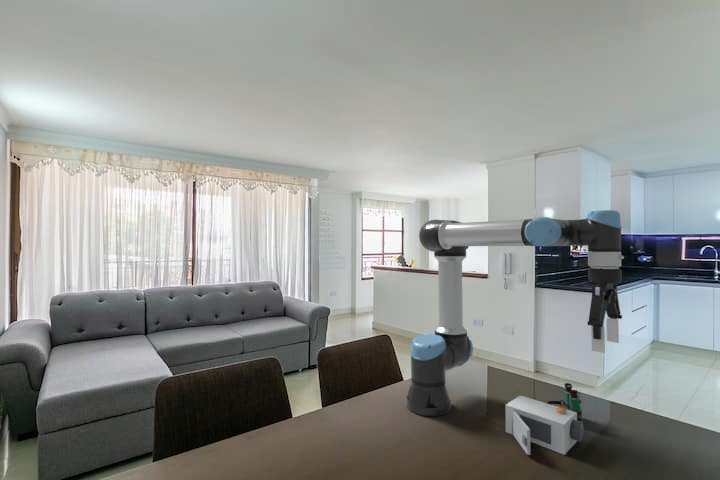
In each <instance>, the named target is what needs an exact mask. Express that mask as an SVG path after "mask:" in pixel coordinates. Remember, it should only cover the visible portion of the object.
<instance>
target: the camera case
mask: <svg viewBox="0 0 720 480" xmlns="http://www.w3.org/2000/svg"><path fill="white" fill-rule="evenodd" d="M512 411H516V413H517V414H518V416H519V417H520V418H521V419H522V420H523V422H524V423H525V424H526V425H527V426H528V428H529V429H530V443H533V444H536V445H539V446H541V447H544V448H545V449H548V450H550V451H554V452H556V453H558V454H561V455H564V456H565V455H567V453H568V452H569V450H571V449H572V448H573V446H575V444H576V443H577V442H579V443H581V442H582V440H583V438H584V433H585V426H584V423H582V422H580V421H577V412H574V411H570V410H567V409H566V408H565V407H561V406H557V405H555V404H547V402H543V401H540V400H537V399H533V398H531V397H527V396H525V395H524V396H523V395H522V394H521V395H519V396H517V397H515V398H514V399H512V400H511V401H508V403H506V404H505V433H507V434H510V435H512Z"/></svg>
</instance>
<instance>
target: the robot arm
mask: <svg viewBox="0 0 720 480" xmlns="http://www.w3.org/2000/svg"><path fill="white" fill-rule="evenodd" d="M418 237H419V243H420V245H422V247H423V248H424V249H426V250H428V251H429V252H432V253H433V257H434V259H436V260H437V264H438V265H437V266H438V267H437V268H438V270H437V271H438V273H437V274H438V278H437V279H438V325H437V326H436V327H435V328H434V334H426V335H425V334H423V335H419V336H416V337H415V338H413V339H412V341H411V346H410V347H411V348H410V369H411V370H410V377H411V379H410V380H411V382H410V386H409V388H408V392H407V396H406V400H405V401H406V408H407V409H408V410H410V412H412V413H414V414H417V415H420V416H425V417H440V416H445V415H446V414H448V413H449V412H451V410H452V402H451V398H450V396H449V392H448V389H447V388H448V387H447V385H446V380H447V379H446V378H447V377H446V372H447V371H450V370H453V369H454V368H457V367H461V366H463V365H464V364H465V363H468V361H470V359H471V358H472V356H473V352H474V345H473V342H472V340H471V339H470V337H469V335H468V331H467V329H466V328H465V327H464V326H463V261H464V260H465V259H466V257H467V250H468V249H469V248H470V247H572V246H575V247H576V246H577V247H579V246H582V247H587V266H588V270H587V271H588V273H587V274H588V275H587V276H588V279H587V280H588V282H590V283H596V286H592V287H591V300H590V308H589V315H588V321H587V326H591V327H590V328H591V351H593V352H599V353H602V354H605V353H606V346H605V345H606V342H609V343H617V344H618V343H619V341H620V339H619V338H620V335H619V330H620V329H619V328H620V326H619V319H620V320H622V319H623V315H622V313H621V308H620V301H619V295H618V284H620V283H622V282H623V276H622V275H623V271H622V269H621V268H620V267H622V260H623V259H625V257H624V255H622V223H621V214H620V212H619V211H618V210H615V209H614V210H611V209H606V210H602V209H601V210H592V211H589V212H588V213H587V216H586V218H582V219H581V218H580V219H560V218H559V219H558V218H551V217H547V216H544V217H543V216H541V217H536V218H529V219H526V218H525V219H522V218H521V219H506V220H491V221H489V220H488V221H487V220H486V221H471V222H462V221H457V220H449V219H447V220H445V219H431V220H428V221H427V222H425V223H423V225H421V227H420V229H419V233H418ZM605 316H607V317H606V318H605ZM605 319H606V322H605ZM604 323H606V325H605V326H606V327H605V326H604ZM605 328H606V336H605ZM605 337H606V339H605ZM605 340H606V341H605Z"/></svg>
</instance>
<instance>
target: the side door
mask: <svg viewBox="0 0 720 480" xmlns="http://www.w3.org/2000/svg"><path fill="white" fill-rule="evenodd" d="M511 435H513V436H514V438H515V440H516V441H517V443H518V444H519V445H520V446H521V448H522V450H523V451H524V452H525V454H526V455H527V456H530V455H531V442H530V429H529V428H528V426H527V425H526V424H525V423H524V422H523V420H522V419H521V418H520V417H519V416H518V414H517V413H516V411H512V434H511Z"/></svg>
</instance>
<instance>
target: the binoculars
mask: <svg viewBox="0 0 720 480" xmlns="http://www.w3.org/2000/svg"><path fill="white" fill-rule="evenodd" d="M563 385H564V388H565V389H564V390H563V399H559V400H549V401H547V402H546V403H547V404H550V405H559V407H564V409H567V410H570V411H574V412H577V421H580V422H582V423H583V420H582V417H583V415H582V413H583V411H582V408H581V404H582V400H581V399H579V396H578V390H576V389H573V385H572V383H569V382H566V383H564V384H563ZM583 424H584V423H583Z"/></svg>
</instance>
